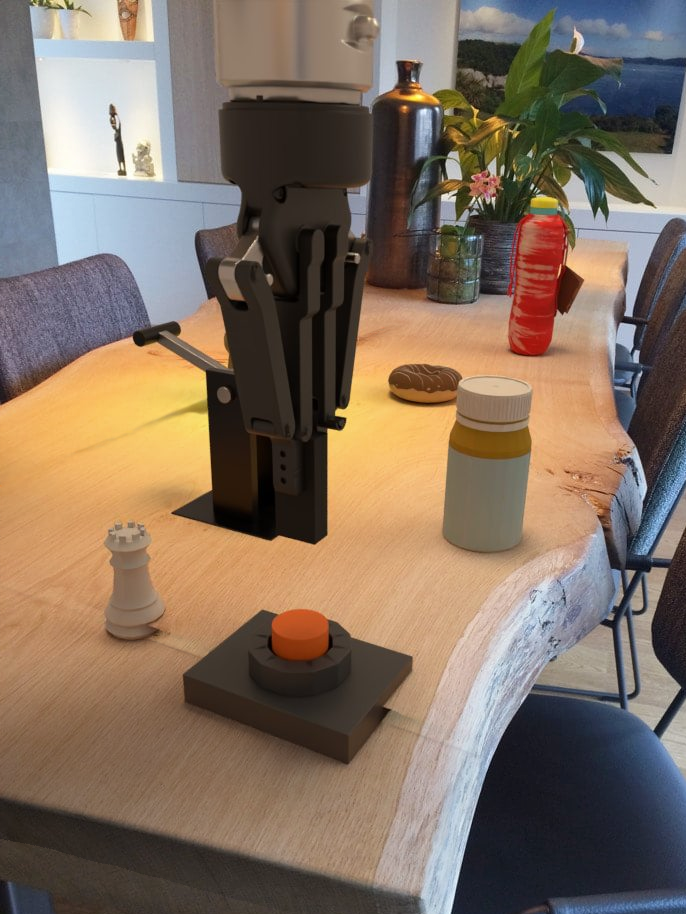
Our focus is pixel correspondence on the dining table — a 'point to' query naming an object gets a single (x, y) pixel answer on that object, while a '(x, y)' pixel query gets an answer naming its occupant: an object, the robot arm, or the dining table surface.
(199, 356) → the lever
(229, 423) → the bracket
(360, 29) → the robot arm
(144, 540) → the rook chess piece
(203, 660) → the control block
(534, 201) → the water bottle
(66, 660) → the dining table surface
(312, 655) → the button
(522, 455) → the bottle
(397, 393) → the donut
